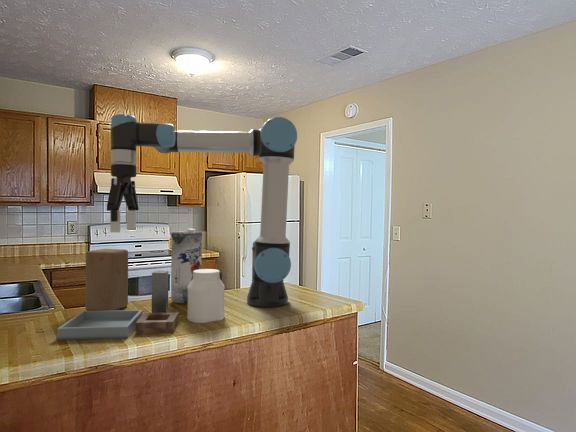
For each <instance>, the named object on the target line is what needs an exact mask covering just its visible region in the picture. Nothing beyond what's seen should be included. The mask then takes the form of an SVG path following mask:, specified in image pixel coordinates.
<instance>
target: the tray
mask: <svg viewBox="0 0 576 432" xmlns="http://www.w3.org/2000/svg"><path fill="white" fill-rule="evenodd" d="M143 310H144V309H130V310H129V309H128V310H127V309H121V310H120V309H118V310H113V311H87V310H83V311H80V312H79V313H78V314H77V315H74V316H73V317H72V318H70V319H69V320H67V321H66V322H65V323H63V324H61V325H60V326H59V327H57V328H56V340H57V341H66V340H67V341H69V340H71V341H73V340H76V341H78V340H102V339H103V340H107V339H108V340H110V339H128V338H129V337H130V336H131V334H132V333H133V332H134V331H136V322H137V321H138V320H139V318H140V317H141V316H142V315H143V314H144V311H143Z"/></svg>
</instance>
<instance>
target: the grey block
mask: <svg viewBox="0 0 576 432" xmlns="http://www.w3.org/2000/svg"><path fill="white" fill-rule="evenodd" d="M151 313H169V270H153V271H152V272H151Z"/></svg>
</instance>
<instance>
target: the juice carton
mask: <svg viewBox="0 0 576 432" xmlns="http://www.w3.org/2000/svg"><path fill="white" fill-rule="evenodd" d="M202 238H203V232H202V231H196V229H195V228H187V230H185V231H182V232H177V231H175V232H170V239H171V249H170V250H171V254H170V255H171V258H170V259H171V263H170V264H171V265H170V266H171V268H170V269H171V270H170V271H171V272H170V274H171V275H170V276H171V277H170V279H171V280H170V281H171V282H170V284H171V285H170V299H171V302H172V303H178V304H186V305H188V290H187V288H188V285H189V284H190V282H191V281H192V279H193V271H194V270H199V269H202V253H203V252H202V251H203V250H202Z"/></svg>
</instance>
